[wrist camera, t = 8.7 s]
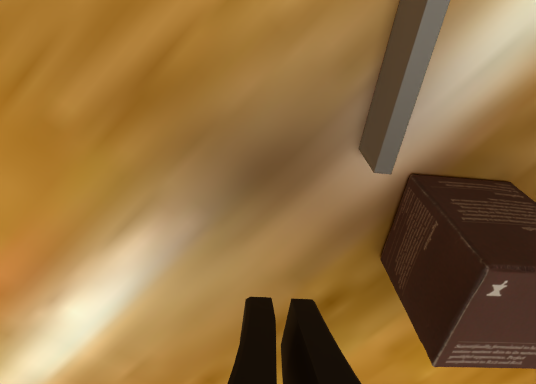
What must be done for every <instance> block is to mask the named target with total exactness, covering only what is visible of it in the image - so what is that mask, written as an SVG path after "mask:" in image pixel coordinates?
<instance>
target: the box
mask: <svg viewBox="0 0 536 384" xmlns="http://www.w3.org/2000/svg"><path fill="white" fill-rule="evenodd" d="M381 262H382V264H383V266H384V267H385V269H386V272H387V273H388V275H389V278H390V280H391V282H392V284H393V286H394V288H395V290H396V292H397V294H398V296H399V298H400V300H401V302H402V304H403V306H404V308H405V310H406V312H407V314H408V316H409V318H410V320H411V322H412V324H413V327H414V329H415V331H416V333H417V335H418V337H419V339H420V341H421V342H422V344H423V346H424V348H425V350H426V352H427V354H428V357H429V359H430V361H431V363H432V365H433V366H434V367H485V368H533V369H536V202H535V201H533V200H532V199H530V198H529V197H528V196H527V195H526V194H524V193H523V192H522V191H520V190H519V189H518V188H517V187H515V186H514V185H513V184H512V183H511V182H499V181H488V180H475V179H464V178H451V177H438V176H425V175H411V176H410V178H409V180H408V183H407V186H406V189H405V191H404V194H403V197H402V200H401V203H400V206H399V209H398V211H397V214H396V217H395V220H394V223H393V225H392V228H391V231H390V234H389V236H388V239H387V242H386V244H385V247H384V250H383V253H382V256H381Z"/></svg>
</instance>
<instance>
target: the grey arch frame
mask: <svg viewBox="0 0 536 384" xmlns="http://www.w3.org/2000/svg"><path fill="white" fill-rule="evenodd" d="M449 2H450V0H400V2H399V6H398V10H397V13H396V17H395V20H394V24H393V28H392V31H391V35H390V38H389V42H388V46H387V49H386V53H385V56H384V60H383V64H382V67H381V71H380V74H379V78H378V82H377V85H376V89H375V92H374V96H373V99H372V103H371V107H370V110H369V114H368V117H367V121H366V125H365V128H364V132H363V135H362V139H361V143H360V146H359V150H360V152H361V153H362V155H363V156H364V158H365V160H366V161H367V163H368V164H369V166H370V167H371V169H372V171H373V172H374V173H382V174H391V173H392V170H393V167H394V164H395V161H396V158H397V155H398V152H399V149H400V147H401V144H402V141H403V138H404V135H405V132H406V129H407V126H408V123H409V120H410V117H411V114H412V111H413V108H414V105H415V102H416V99H417V96H418V94H419V91H420V88H421V85H422V82H423V79H424V76H425V73H426V70H427V67H428V64H429V61H430V58H431V55H432V52H433V49H434V46H435V43H436V41H437V38H438V35H439V32H440V29H441V26H442V23H443V20H444V17H445V14H446V11H447V8H448V5H449Z"/></svg>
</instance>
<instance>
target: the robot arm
mask: <svg viewBox="0 0 536 384" xmlns="http://www.w3.org/2000/svg"><path fill="white" fill-rule="evenodd" d="M281 357H282V376H283V384H361V383H360V381H359V379H358V378H357V376H356V375H355V373H354V372H353V370H352V368H351V367H350V365H349V363H348V362H347V360H346V359H345V357H344V355H343V354H342V352H341V350H340V349H339V347H338V345H337V343H336V342H335V340H334V338H333V336H332V334H331V333H330V331H329V329H328V327H327V325H326V323H325V322H324V320H323V318H322V316H321V314H320V312H319V310H318V308H317V306H316V304H315V302H314V301H313V300H311V299H291V303H290V307H289V312H288V316H287V320H286V325H285V329H284V333H283V338H282V342H281ZM228 384H277V375H276V320H275V314H274V308H273V304H272V299H271V298H267V297H249V298H247V299H246V302H245V309H244V316H243V323H242V330H241V337H240V345H239V348H238V352H237V356H236V359H235V363H234V366H233V369H232V372H231V375H230V378H229V381H228Z"/></svg>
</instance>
